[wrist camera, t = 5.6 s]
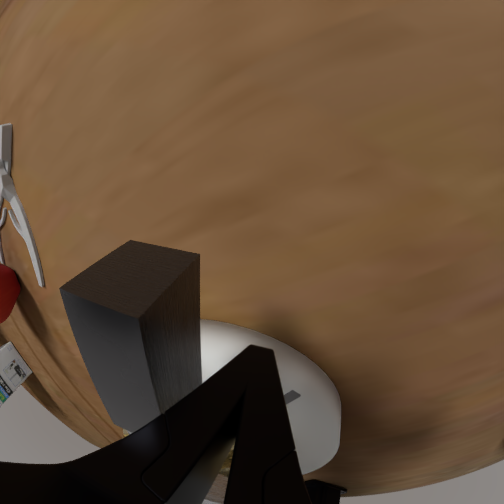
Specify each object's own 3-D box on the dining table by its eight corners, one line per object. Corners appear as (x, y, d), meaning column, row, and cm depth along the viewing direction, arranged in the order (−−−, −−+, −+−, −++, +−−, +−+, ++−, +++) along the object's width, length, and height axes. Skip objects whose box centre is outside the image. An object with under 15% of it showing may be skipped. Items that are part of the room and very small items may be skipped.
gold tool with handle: (280, 479, 19) (263, 538, 13) (155, 442, 21) (126, 493, 15) (382, 234, 9) (446, 377, 3) (97, 191, 11) (-24, 245, 5)
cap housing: (251, 466, 25) (244, 488, 22) (111, 381, 24) (95, 401, 21) (388, 409, 17) (391, 442, 14) (181, 264, 16) (153, 292, 13)
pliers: (-5, 265, 21) (-22, 131, 15) (4, 260, 23) (-10, 129, 16) (37, 292, 20) (16, 120, 13) (48, 284, 21) (32, 118, 15)
